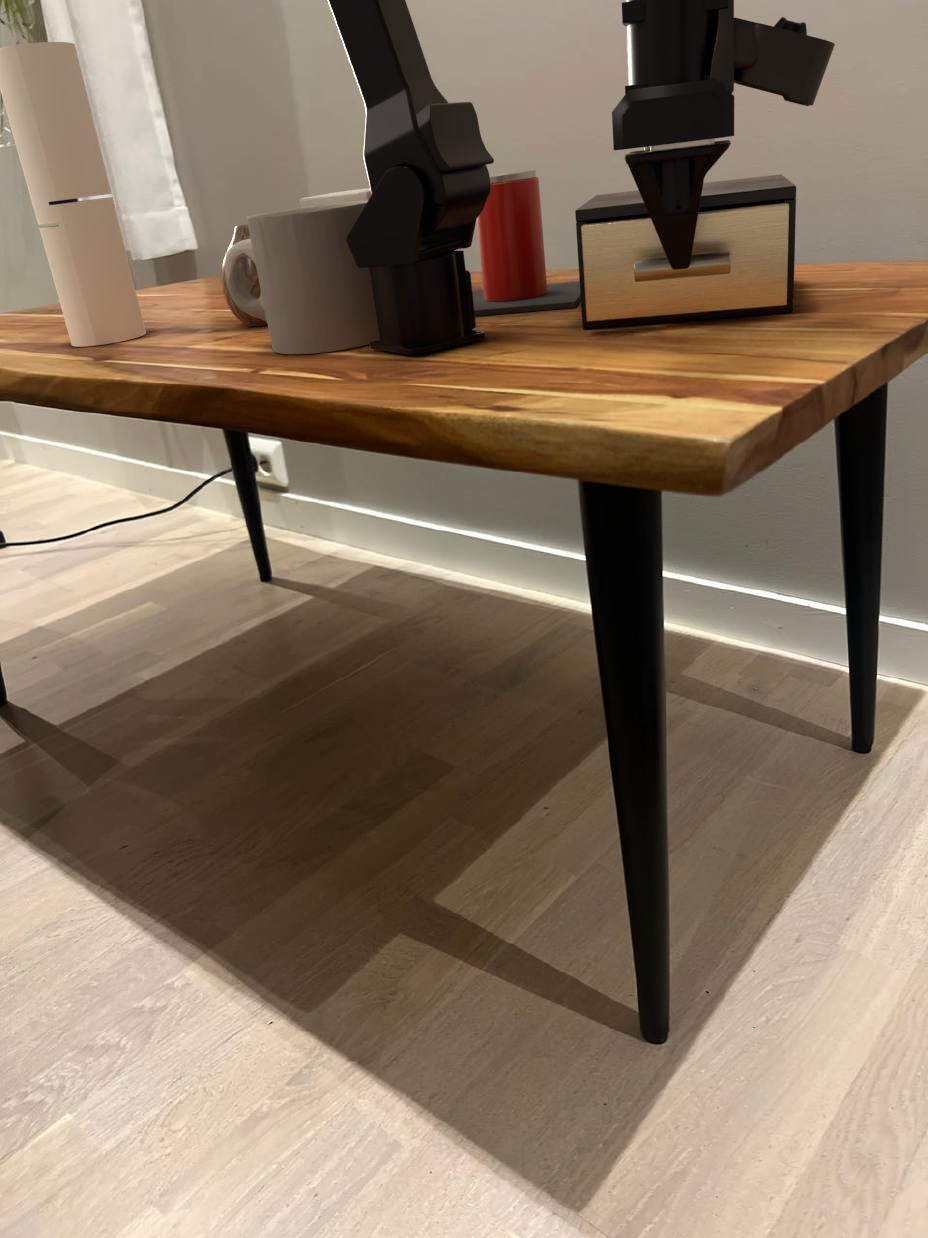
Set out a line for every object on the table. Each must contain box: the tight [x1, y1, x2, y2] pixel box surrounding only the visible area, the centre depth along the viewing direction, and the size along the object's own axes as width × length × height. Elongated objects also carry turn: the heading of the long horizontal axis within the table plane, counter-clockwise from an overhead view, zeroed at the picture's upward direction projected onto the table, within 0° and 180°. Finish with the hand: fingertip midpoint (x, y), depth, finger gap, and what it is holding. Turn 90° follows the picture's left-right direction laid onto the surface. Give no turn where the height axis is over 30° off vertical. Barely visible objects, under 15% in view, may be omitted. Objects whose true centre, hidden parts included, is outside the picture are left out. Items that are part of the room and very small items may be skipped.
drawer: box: [581, 201, 789, 322], centre depth 71 cm, size 18×13×6 cm
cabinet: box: [574, 174, 797, 330], centre depth 75 cm, size 15×15×8 cm
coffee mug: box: [224, 200, 380, 355], centre depth 79 cm, size 13×10×10 cm
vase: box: [220, 223, 268, 327], centre depth 93 cm, size 7×7×9 cm
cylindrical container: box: [0, 41, 147, 348], centre depth 92 cm, size 7×7×25 cm
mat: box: [472, 280, 581, 317], centre depth 88 cm, size 12×12×1 cm
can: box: [476, 169, 548, 302], centre depth 86 cm, size 6×6×10 cm
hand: (680, 268), depth 62 cm, fingers closed
